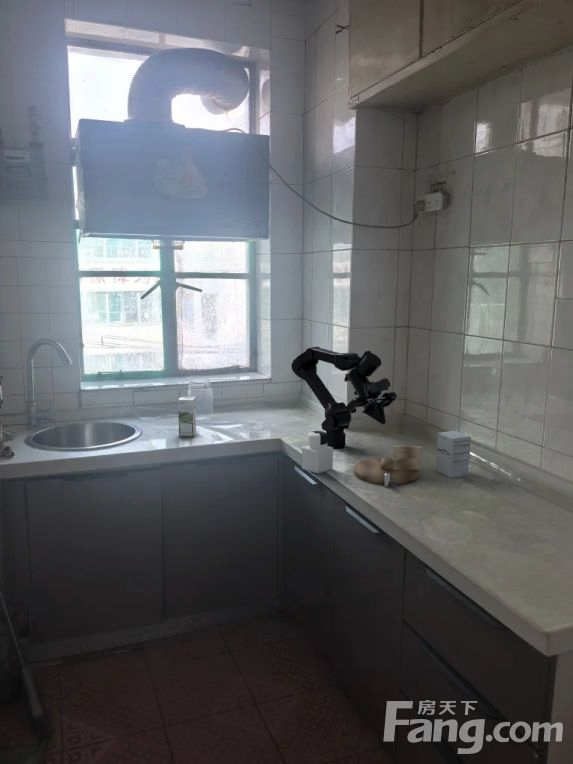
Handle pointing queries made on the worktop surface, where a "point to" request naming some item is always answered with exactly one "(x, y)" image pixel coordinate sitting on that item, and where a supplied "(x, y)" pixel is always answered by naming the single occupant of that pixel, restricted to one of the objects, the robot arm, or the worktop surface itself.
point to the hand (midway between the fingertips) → (384, 423)
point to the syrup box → (187, 416)
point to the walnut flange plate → (379, 475)
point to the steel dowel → (387, 480)
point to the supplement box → (453, 453)
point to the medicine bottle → (317, 453)
